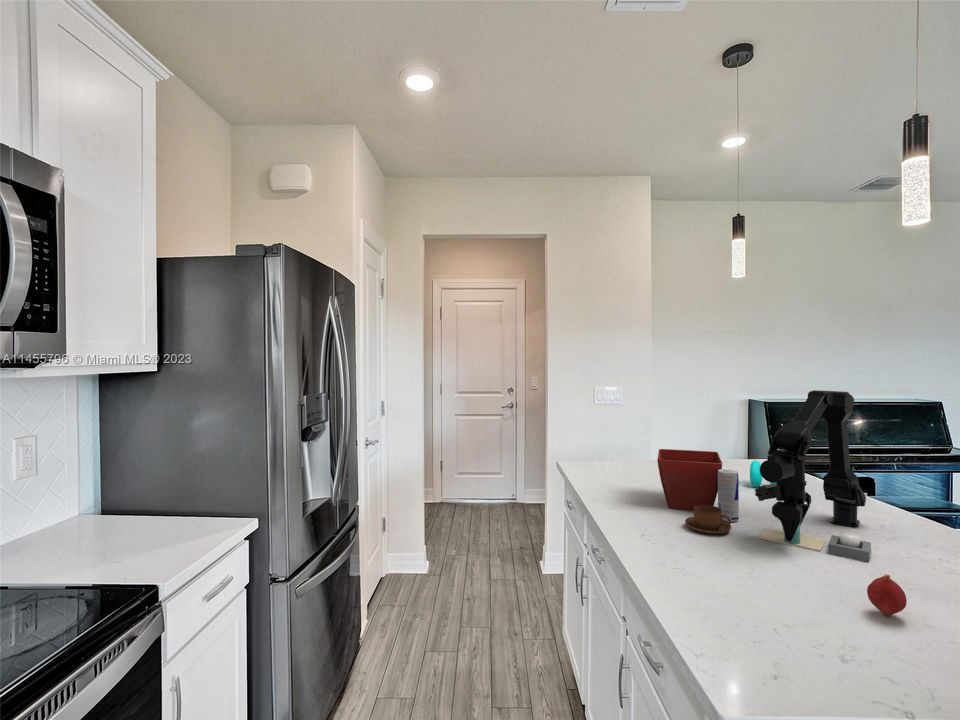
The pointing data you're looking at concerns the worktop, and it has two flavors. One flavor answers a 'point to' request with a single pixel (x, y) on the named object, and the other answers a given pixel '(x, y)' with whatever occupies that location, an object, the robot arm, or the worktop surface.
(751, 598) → the worktop surface
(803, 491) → the robot arm
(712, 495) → the plant pot
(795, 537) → the teal grey-topped cylinder
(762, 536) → the paper pad
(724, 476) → the beverage can
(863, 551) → the button housing
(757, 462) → the donuts
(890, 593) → the onion
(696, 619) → the worktop surface
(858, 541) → the button
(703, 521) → the cup and saucer
